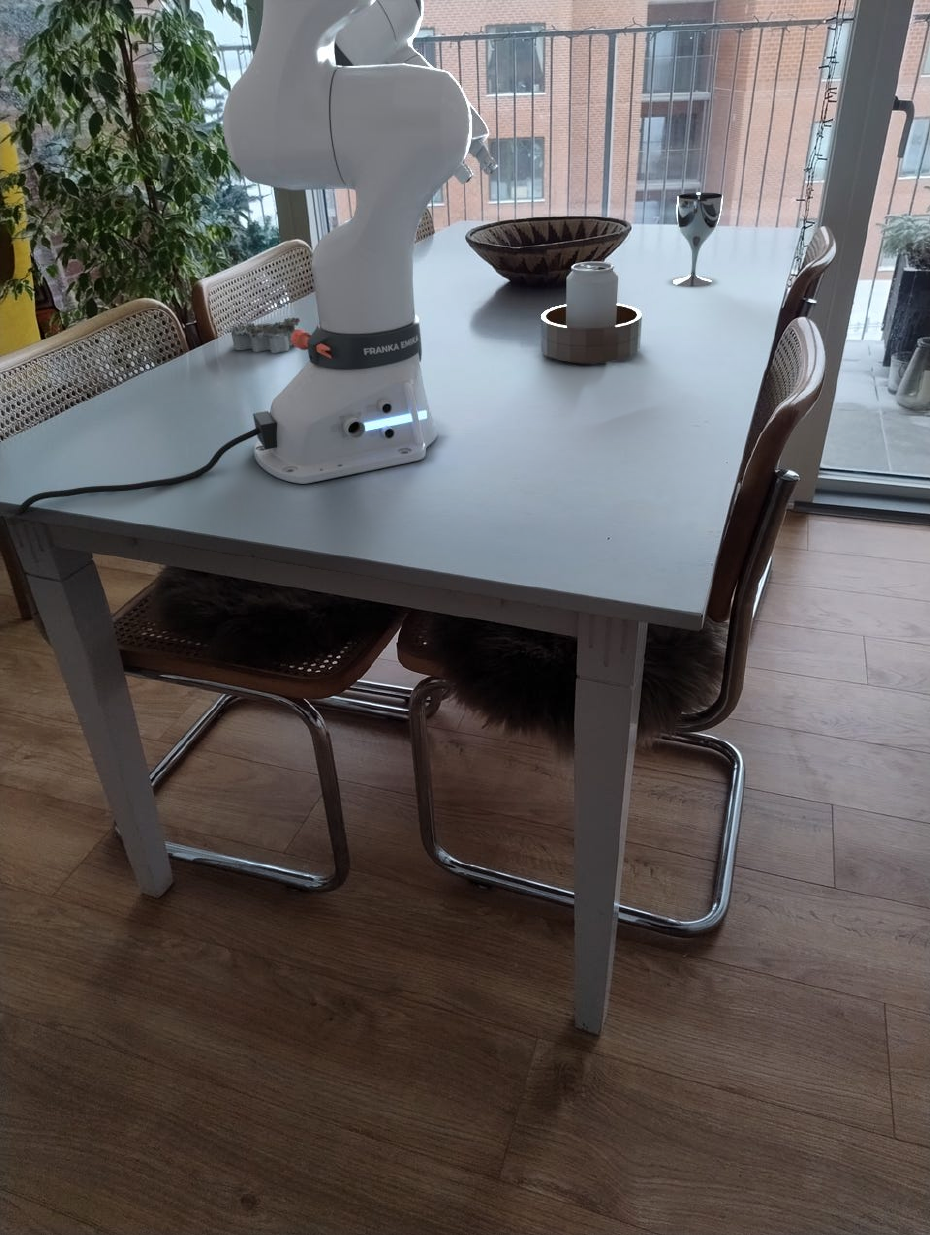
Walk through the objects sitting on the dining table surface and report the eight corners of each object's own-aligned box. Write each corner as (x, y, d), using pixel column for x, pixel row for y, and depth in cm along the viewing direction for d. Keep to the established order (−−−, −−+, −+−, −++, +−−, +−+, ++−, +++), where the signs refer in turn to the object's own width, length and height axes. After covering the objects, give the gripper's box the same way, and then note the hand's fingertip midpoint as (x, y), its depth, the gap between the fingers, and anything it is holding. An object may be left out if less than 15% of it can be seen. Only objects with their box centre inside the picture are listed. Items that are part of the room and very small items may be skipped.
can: (613, 355, 129) (617, 270, 122) (562, 354, 130) (564, 270, 124) (616, 340, 135) (620, 259, 128) (568, 340, 136) (569, 259, 130)
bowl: (584, 373, 124) (585, 335, 121) (522, 351, 135) (521, 314, 132) (659, 352, 131) (662, 315, 128) (595, 332, 141) (596, 297, 138)
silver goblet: (719, 279, 167) (728, 193, 159) (705, 288, 162) (714, 200, 153) (680, 275, 171) (687, 192, 163) (664, 285, 166) (671, 198, 157)
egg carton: (306, 342, 145) (302, 317, 143) (280, 355, 139) (276, 329, 137) (254, 337, 149) (249, 312, 147) (226, 349, 143) (222, 324, 141)
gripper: (394, 83, 113) (466, 167, 115) (456, 76, 129) (519, 149, 131) (368, 123, 117) (438, 203, 119) (431, 111, 133) (492, 182, 135)
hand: (481, 175), depth 125 cm, fingers open, 8 cm apart
